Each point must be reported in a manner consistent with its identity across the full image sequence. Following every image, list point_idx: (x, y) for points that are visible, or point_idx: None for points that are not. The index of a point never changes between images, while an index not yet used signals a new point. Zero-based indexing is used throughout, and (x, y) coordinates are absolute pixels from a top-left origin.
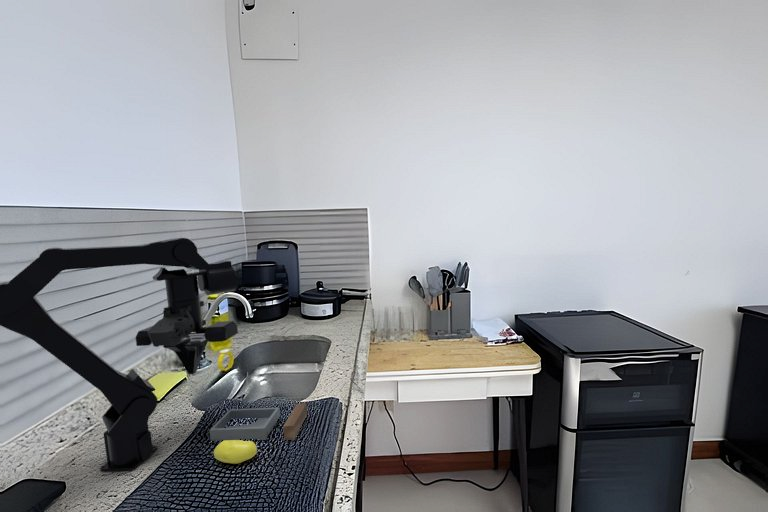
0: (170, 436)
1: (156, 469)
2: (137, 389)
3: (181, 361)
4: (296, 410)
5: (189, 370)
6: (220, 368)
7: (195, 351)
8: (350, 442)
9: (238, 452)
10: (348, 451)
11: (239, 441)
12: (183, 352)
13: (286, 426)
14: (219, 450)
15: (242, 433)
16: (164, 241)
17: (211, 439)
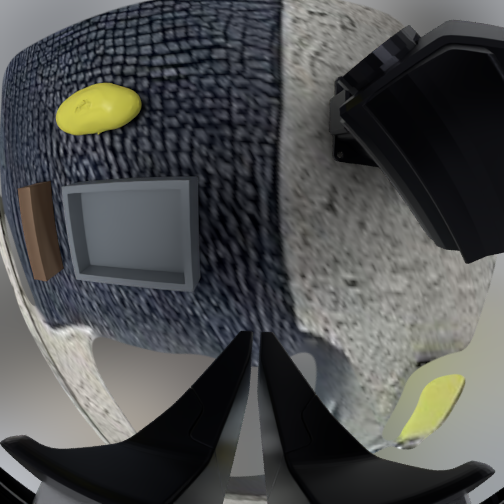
0: (332, 217)
1: (279, 75)
2: (429, 42)
3: (308, 388)
4: (34, 250)
5: (261, 345)
6: None
7: (135, 437)
8: None
9: (76, 92)
10: None
11: (73, 111)
12: (281, 455)
13: (26, 187)
14: (111, 86)
15: (110, 181)
16: None
17: (193, 177)
